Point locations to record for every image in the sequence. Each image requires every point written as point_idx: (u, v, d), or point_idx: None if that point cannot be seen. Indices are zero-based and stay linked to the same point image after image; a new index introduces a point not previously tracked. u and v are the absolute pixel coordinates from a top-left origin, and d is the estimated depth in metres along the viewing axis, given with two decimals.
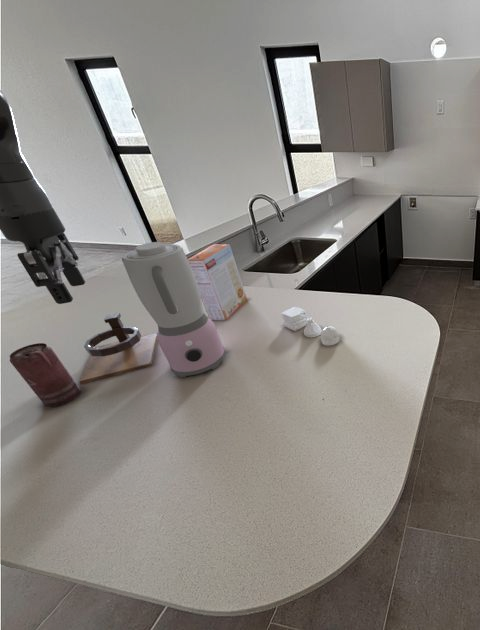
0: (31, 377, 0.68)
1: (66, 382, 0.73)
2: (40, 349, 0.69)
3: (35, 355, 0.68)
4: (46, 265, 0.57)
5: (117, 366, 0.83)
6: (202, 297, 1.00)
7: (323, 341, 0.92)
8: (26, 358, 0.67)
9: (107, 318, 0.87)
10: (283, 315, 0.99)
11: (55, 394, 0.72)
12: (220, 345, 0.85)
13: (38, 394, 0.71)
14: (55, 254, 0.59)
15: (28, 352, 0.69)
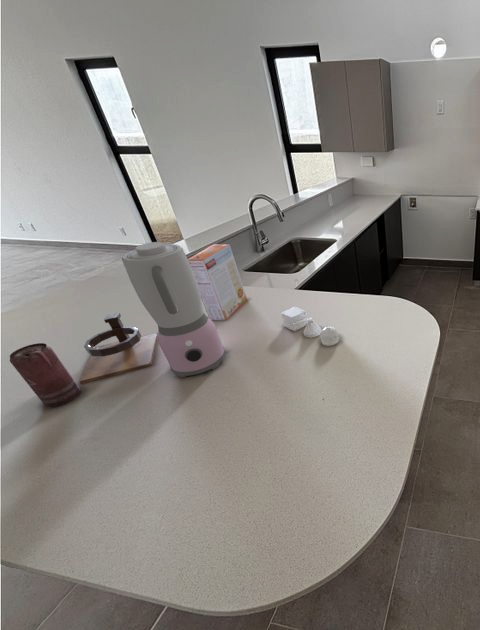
0: (31, 377, 0.68)
1: (66, 381, 0.73)
2: (40, 349, 0.69)
3: (35, 355, 0.68)
4: None
5: (117, 366, 0.83)
6: (202, 297, 1.00)
7: (323, 341, 0.92)
8: (26, 358, 0.67)
9: (107, 318, 0.87)
10: (283, 315, 0.99)
11: (55, 394, 0.72)
12: (220, 345, 0.85)
13: (38, 394, 0.71)
14: None
15: (28, 352, 0.69)
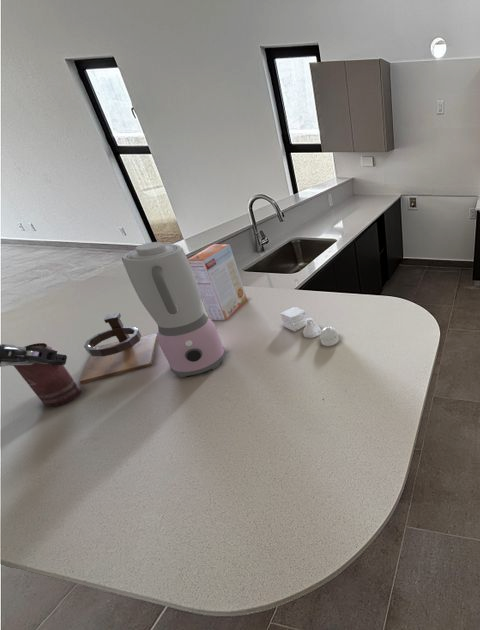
0: (31, 377, 0.68)
1: (66, 381, 0.73)
2: None
3: None
4: None
5: (117, 366, 0.83)
6: (202, 297, 1.00)
7: (322, 341, 0.92)
8: None
9: (107, 318, 0.87)
10: (282, 315, 0.98)
11: (55, 394, 0.72)
12: (220, 345, 0.85)
13: (38, 394, 0.71)
14: None
15: None
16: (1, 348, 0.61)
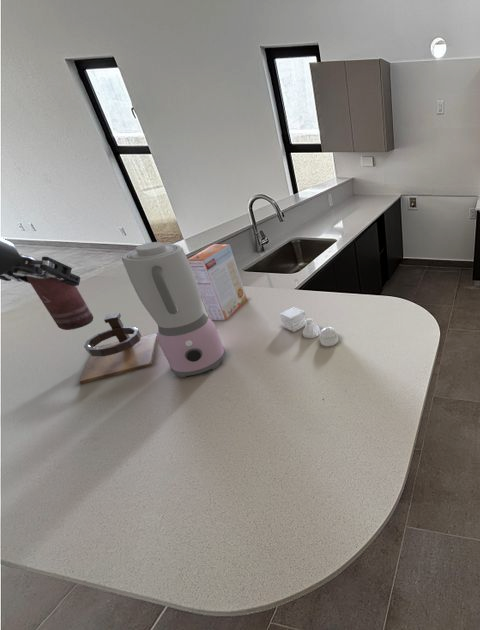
0: (46, 294, 0.70)
1: (79, 303, 0.75)
2: None
3: None
4: None
5: (117, 366, 0.83)
6: (202, 297, 1.00)
7: (322, 342, 0.92)
8: None
9: (107, 318, 0.87)
10: (282, 316, 0.98)
11: (68, 314, 0.73)
12: (220, 345, 0.85)
13: (52, 313, 0.72)
14: (2, 274, 0.65)
15: None
16: (19, 255, 0.62)
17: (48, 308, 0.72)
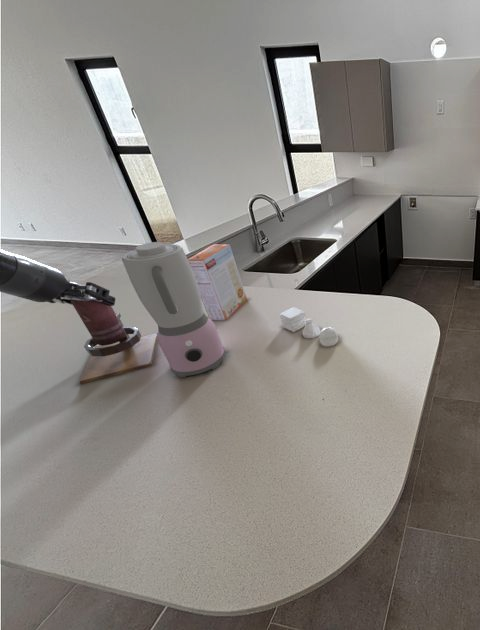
0: (86, 314, 0.78)
1: (115, 321, 0.83)
2: None
3: None
4: None
5: (117, 366, 0.83)
6: (202, 297, 1.00)
7: (322, 342, 0.92)
8: (83, 296, 0.76)
9: None
10: (281, 316, 0.98)
11: (105, 332, 0.81)
12: (220, 345, 0.85)
13: (91, 330, 0.80)
14: None
15: None
16: (66, 281, 0.70)
17: (88, 326, 0.80)
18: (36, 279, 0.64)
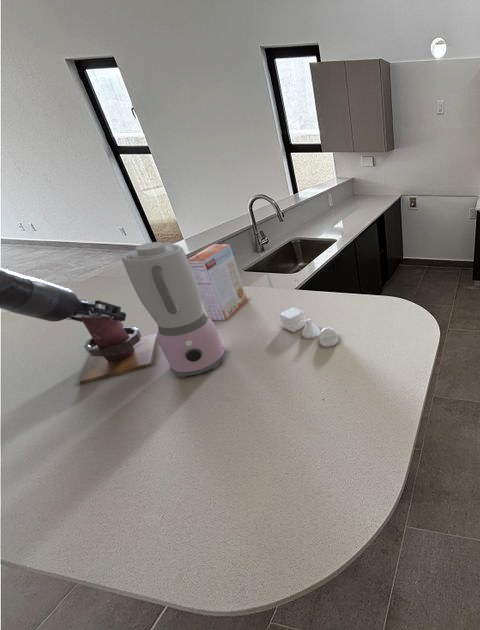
0: (97, 332, 0.80)
1: (124, 338, 0.85)
2: None
3: None
4: None
5: (117, 366, 0.83)
6: (202, 297, 1.00)
7: (322, 342, 0.92)
8: None
9: None
10: (281, 316, 0.98)
11: None
12: (220, 345, 0.85)
13: (101, 347, 0.83)
14: None
15: None
16: (78, 301, 0.73)
17: (98, 344, 0.82)
18: (50, 300, 0.67)
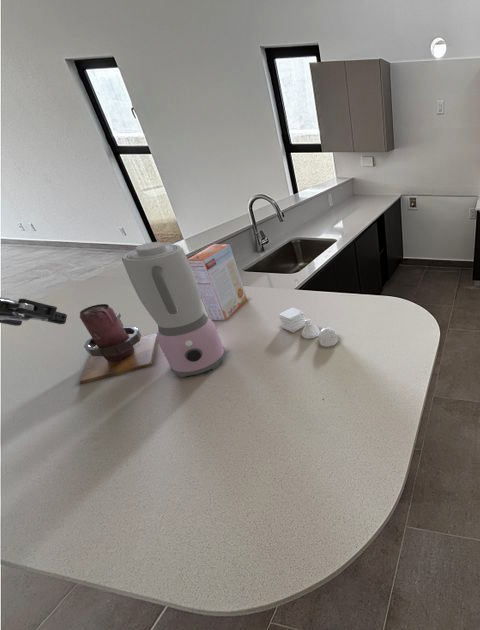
0: (97, 332, 0.80)
1: (124, 338, 0.85)
2: (104, 308, 0.81)
3: (101, 312, 0.80)
4: None
5: (117, 366, 0.83)
6: (202, 297, 1.00)
7: (321, 342, 0.92)
8: (94, 315, 0.79)
9: None
10: (281, 316, 0.98)
11: None
12: (220, 345, 0.85)
13: (101, 347, 0.83)
14: None
15: (94, 310, 0.80)
16: None
17: (98, 344, 0.82)
18: None
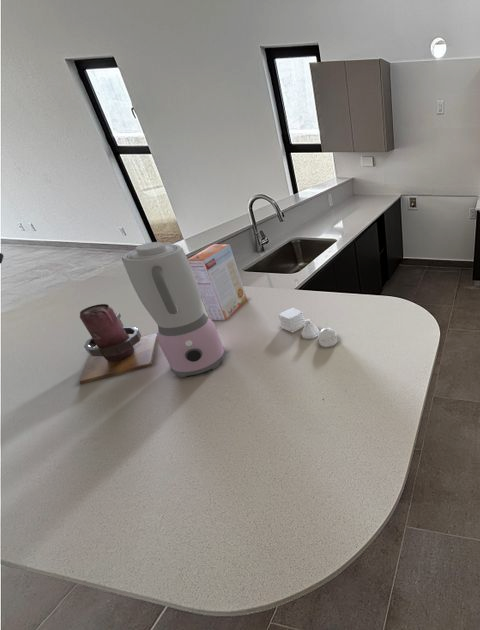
0: (97, 332, 0.80)
1: (124, 338, 0.85)
2: (104, 308, 0.81)
3: (101, 312, 0.80)
4: None
5: (117, 366, 0.83)
6: (202, 297, 1.00)
7: (321, 342, 0.92)
8: (94, 315, 0.79)
9: None
10: (280, 317, 0.98)
11: None
12: (220, 345, 0.85)
13: (101, 347, 0.83)
14: None
15: (94, 310, 0.80)
16: None
17: (98, 344, 0.82)
18: None
